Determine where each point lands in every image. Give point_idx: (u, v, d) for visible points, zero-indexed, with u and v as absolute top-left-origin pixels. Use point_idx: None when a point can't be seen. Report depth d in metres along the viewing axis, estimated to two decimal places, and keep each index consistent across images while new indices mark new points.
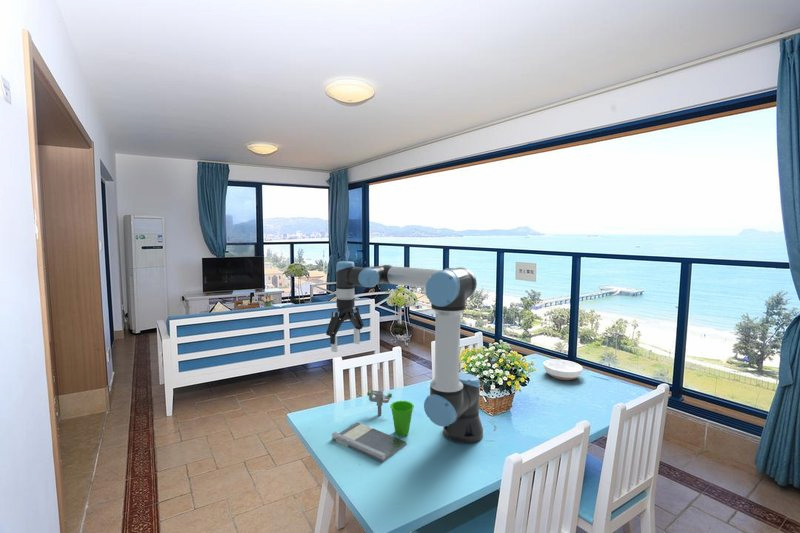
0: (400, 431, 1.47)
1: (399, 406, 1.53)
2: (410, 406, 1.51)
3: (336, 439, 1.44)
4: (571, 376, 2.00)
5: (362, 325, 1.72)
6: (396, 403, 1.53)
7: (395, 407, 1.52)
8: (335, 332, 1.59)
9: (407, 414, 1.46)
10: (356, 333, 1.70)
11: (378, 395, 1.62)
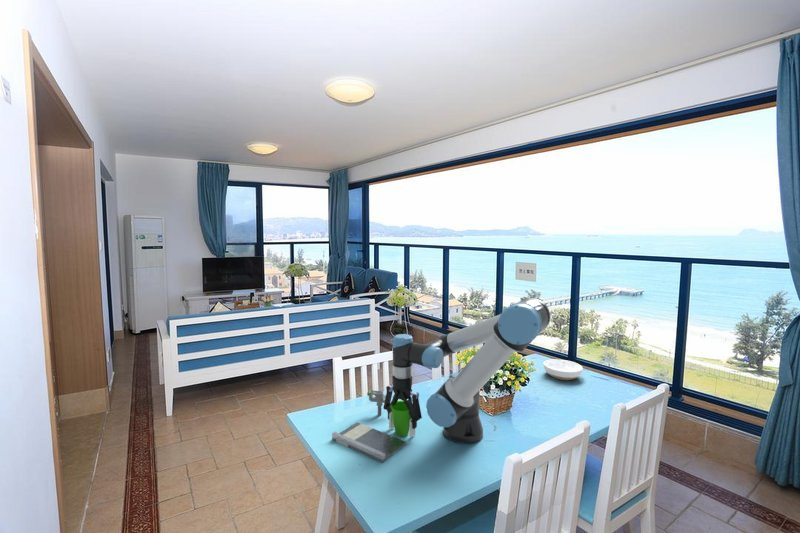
0: (400, 431, 1.47)
1: (399, 406, 1.53)
2: None
3: (336, 439, 1.44)
4: (571, 376, 2.00)
5: (416, 419, 1.44)
6: (396, 403, 1.53)
7: (395, 407, 1.52)
8: (388, 408, 1.52)
9: (407, 414, 1.46)
10: None
11: (378, 395, 1.62)
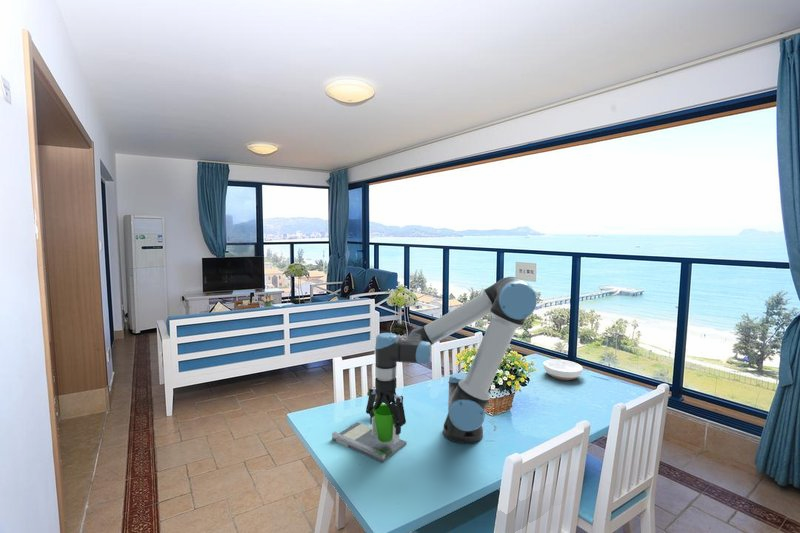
0: (383, 437, 1.37)
1: (383, 410, 1.43)
2: None
3: (336, 439, 1.44)
4: (571, 376, 2.00)
5: (399, 424, 1.34)
6: (380, 407, 1.43)
7: (379, 411, 1.42)
8: (371, 412, 1.42)
9: (390, 419, 1.36)
10: None
11: None
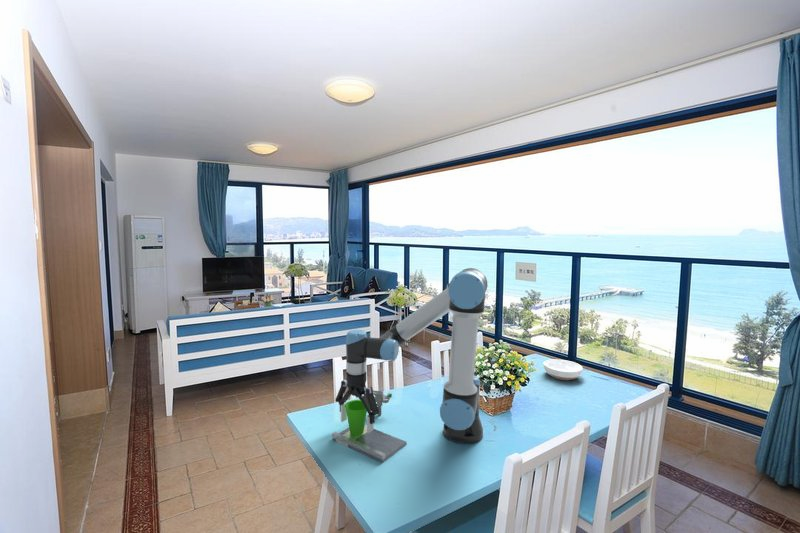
0: (354, 430, 1.46)
1: (355, 405, 1.51)
2: None
3: (336, 439, 1.44)
4: (571, 376, 2.00)
5: (373, 414, 1.41)
6: (352, 402, 1.51)
7: (351, 406, 1.50)
8: (340, 401, 1.51)
9: (361, 413, 1.44)
10: None
11: (378, 395, 1.62)
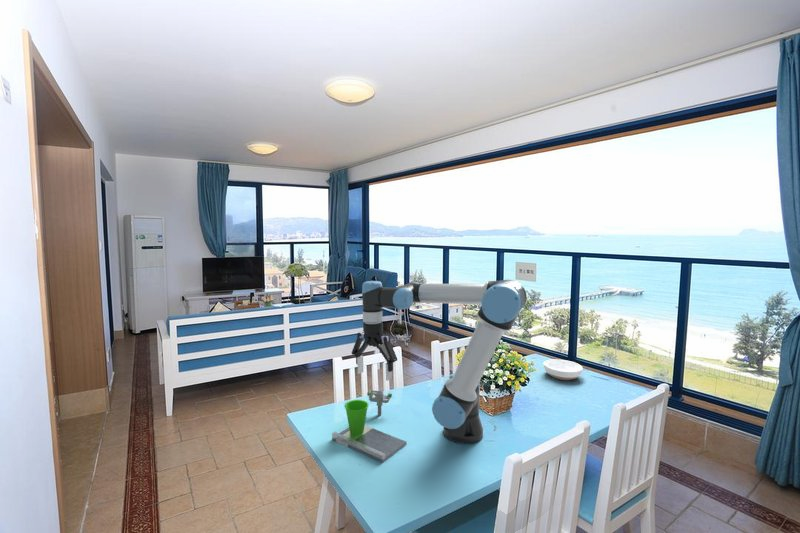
0: (354, 430, 1.46)
1: (355, 405, 1.51)
2: (365, 405, 1.50)
3: (336, 439, 1.44)
4: (571, 376, 2.00)
5: (391, 361, 1.43)
6: (352, 402, 1.51)
7: (351, 406, 1.51)
8: (357, 353, 1.53)
9: (361, 413, 1.44)
10: None
11: (378, 395, 1.62)
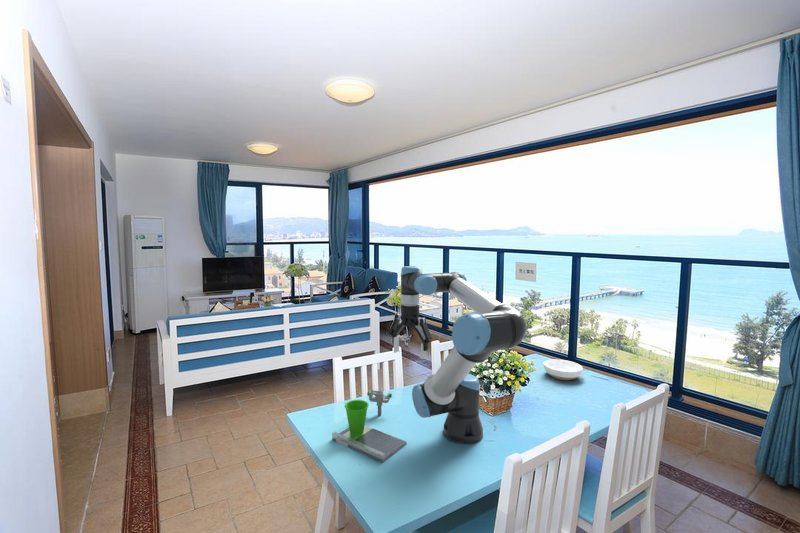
0: (354, 430, 1.46)
1: (355, 405, 1.51)
2: (365, 405, 1.50)
3: (336, 439, 1.44)
4: (571, 376, 2.00)
5: (427, 341, 1.53)
6: (352, 402, 1.51)
7: (351, 406, 1.51)
8: (394, 333, 1.63)
9: (361, 413, 1.44)
10: None
11: (378, 395, 1.62)
